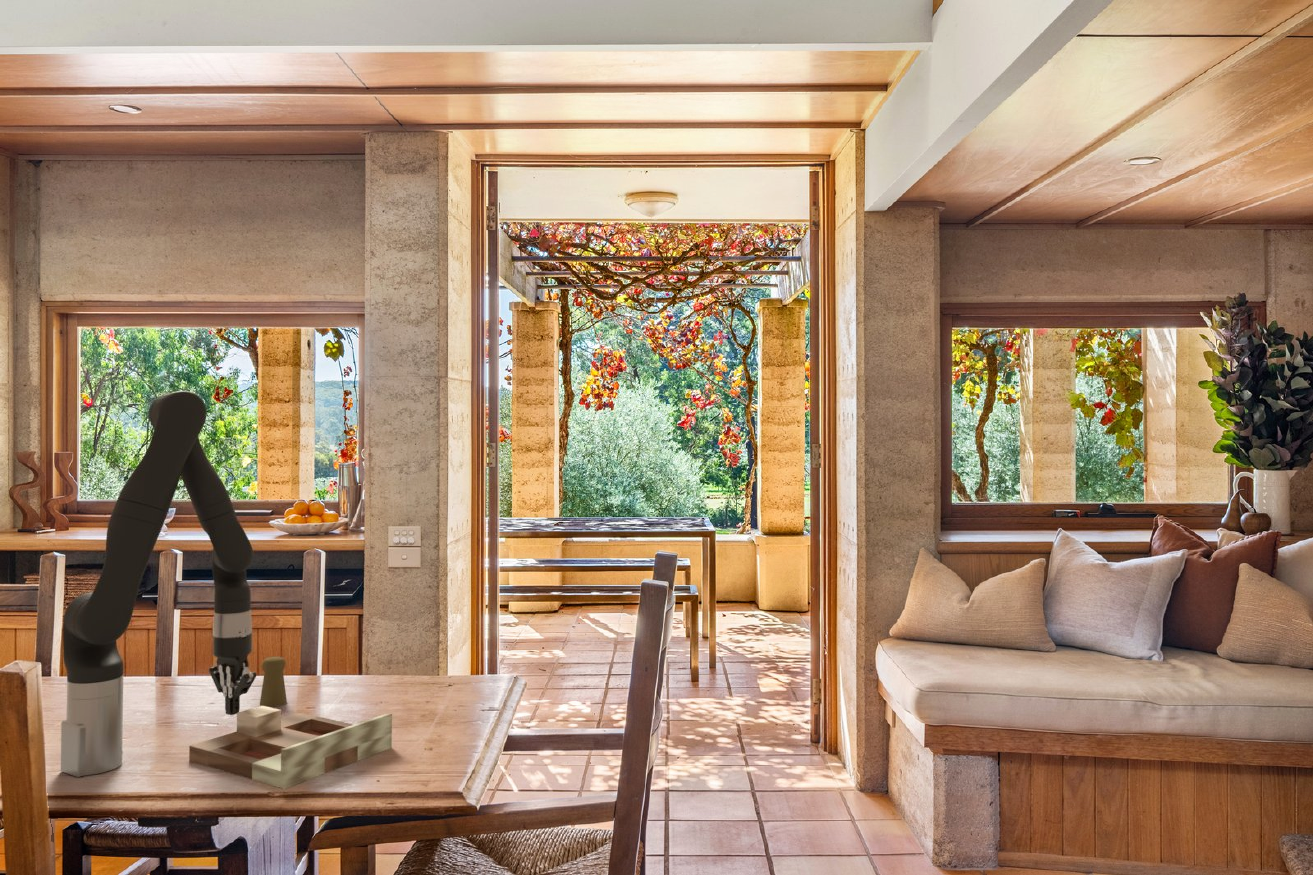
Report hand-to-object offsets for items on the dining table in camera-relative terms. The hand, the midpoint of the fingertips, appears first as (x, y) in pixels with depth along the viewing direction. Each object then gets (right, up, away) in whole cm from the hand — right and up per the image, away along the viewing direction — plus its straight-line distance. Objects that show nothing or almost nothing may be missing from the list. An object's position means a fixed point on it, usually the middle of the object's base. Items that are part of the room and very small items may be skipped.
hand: (232, 713), depth 192 cm
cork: (-2, -6, +25) cm, 26 cm away
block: (+8, -2, -5) cm, 9 cm away
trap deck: (+17, -5, -10) cm, 20 cm away
